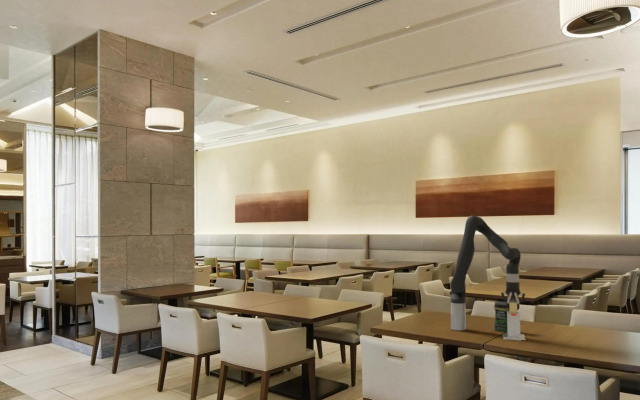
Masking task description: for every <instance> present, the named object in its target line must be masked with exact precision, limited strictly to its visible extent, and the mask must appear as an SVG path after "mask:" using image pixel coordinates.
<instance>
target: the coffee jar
mask: <svg viewBox="0 0 640 400" xmlns="http://www.w3.org/2000/svg"><path fill="white" fill-rule="evenodd" d="M493 306H494V307H493V308H494V309H493V310H494V313H495V314H494V315H495V317H494V327H493V328H494V331H496V332H501V333H507V311H509V310H508V309H507V303H506V302H504V301H495V302H494V305H493Z"/></svg>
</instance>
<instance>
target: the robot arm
mask: <svg viewBox="0 0 640 400" xmlns="http://www.w3.org/2000/svg"><path fill="white" fill-rule="evenodd" d="M476 232H478V233H480V234H481V235H483V236H484V237H485V238H486V239H487V241H488V242H489V243H490V244H491V245H492V246H493V247H494V248H496V250H498V251H499V253H500V254H501V256H502V257H504V258H505V259H507V260H509V262H508V263H507V264H506V265H505V269H506V270H505V271H506V275H505V291H501V293H500V295H501V296H502V299H503V300H502V301H503V302H506V303H507V309H508V310H510V305H509V302H510V300H511V299H515V301H517V311H519V310H520V305H521V304H522V303H523V302H524V299H525V296H526V293H525V292H521V290H520V289H521V287H520V286H521V285H520V272H519V271H520V269H519V266H520V263H521V262H520V261H521V258H522V257H521V256H522V254H521V251H520V250H519V248H516V247H510V246H509V243H508V242H507V241H506V240H505V239H504V238H503V237H501V236H500V235H499V234H497V233H496V232H495V231H494V230H493V229H492V228H491V227H490V226H489V225H488V224H487V222H485V220H484V219H483V218H482V217H480V216H477V215H469V216H468V217H467V219H466V221H465V226H464V233H463V237H462V240H461V244H460V247H459V251H458V255H457V259H456V265H455V269H454V273H453V276H452V279H451V281H450V284H449V287H450V330H454V331H466V330H467V324H466V322H467V317H466V316H467V315H466V311H467V310H466V299H467V295H466V292H467V291H466V279H467V273H468V271H469V269H470V267H471V265H472V262H473V258H474V254H475V251H476V250H475V236H476V235H475V234H476ZM506 295H507V299H506V297H505V296H506ZM519 296H521V298H520V300H519V298H518V297H519Z"/></svg>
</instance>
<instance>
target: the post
mask: <svg viewBox="0 0 640 400" xmlns="http://www.w3.org/2000/svg"><path fill="white" fill-rule="evenodd" d="M509 305H510V310H509V312H510V313H517V312H518V310H517V300H513V299H512V300H511V299H510V302H509Z"/></svg>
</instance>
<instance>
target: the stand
mask: <svg viewBox="0 0 640 400" xmlns="http://www.w3.org/2000/svg"><path fill="white" fill-rule="evenodd" d="M502 337H503V340H510V341H521V340H525V341H526V336H525V334H523V333H522V334H521V313H520V311H517V313H510V312H509V311H507V332H502Z"/></svg>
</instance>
